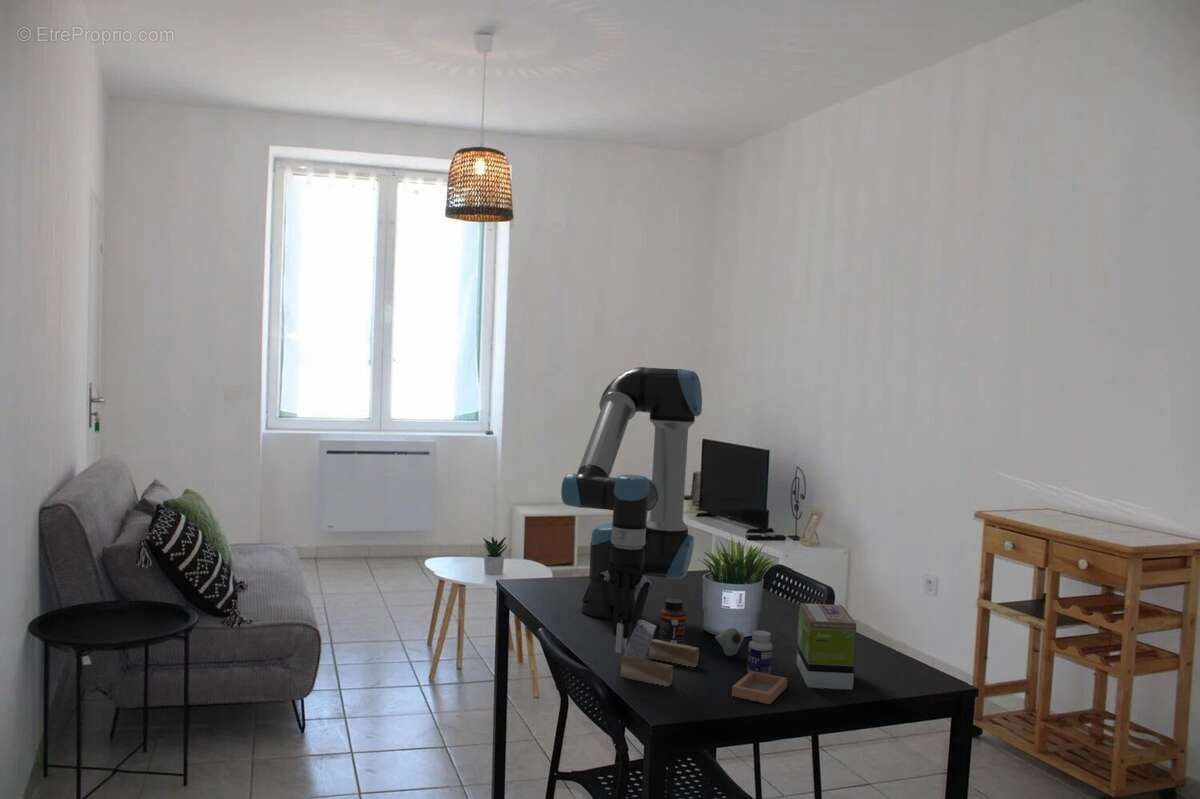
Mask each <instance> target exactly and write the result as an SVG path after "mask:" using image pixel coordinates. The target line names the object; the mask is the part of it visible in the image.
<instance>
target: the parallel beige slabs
mask: <svg viewBox="0 0 1200 799" xmlns="http://www.w3.org/2000/svg"><path fill="white" fill-rule="evenodd" d="M699 652H700V648H699V647H696V646H691V645H687V644H684V645H682V644H676V643H671V642H666V641H661V640H659V639H654V638H653V639H652V641H651V644H650V646H649V652H648V653H649V655H648V657H649V658H650V659H649V658H648V659H649V660H647V659H644V660H643V659H638V658H633V657H628V656H624V655H623V656H624V657H623V656H622V657H621V658H620V659H621V660H620V678H624V679H629V680H634V681H638V682H642V681H643V683H648V684H652V683H653V685H656V684H659V685H658V686H661V685H664V686H663V687H666V686H669V685H670V686H672V685H673V673H674V669H673V668H674V664H673V663H677V664H676V665H678V664H682V665H681V666H683V665H686V666H685V667H688V666H692V667H691V668H693V667H695V668H696V666H697V665H698V666H699V655H700V654H699ZM653 659H656V660H655V661H654V660H653ZM652 660H653V661H652ZM658 660H661V661H660V662H659V661H658ZM657 661H658V662H657ZM663 661H666V662H665V663H663ZM668 662H672V663H671V664H673V665H671V664H667V663H668ZM698 666H697V667H698ZM671 684H672V685H671ZM670 686H669V687H670Z"/></svg>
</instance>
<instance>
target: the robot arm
mask: <svg viewBox="0 0 1200 799" xmlns="http://www.w3.org/2000/svg"><path fill="white" fill-rule="evenodd" d="M598 405H599V409H600V412H599V414H598V417H597V418H596V421H595V424H594V428H593V430H592V433H591V436H590V438H589V440H588V443H587V447H586V448H585V451H584V454H583V457H582V459H581V462H580V465H579V466H578V470H577V473H567V474H566V475H565V476H564V477H563V479H562V483H561V491H560V493H561V494H560V495H561V500H562V503H563V504H564V505H565V506H570V507H575V508H579V509H580V508H581V509H582V508H583V509H594V510H596V509H597V510H607V511H612V522H610V523H609V522H608V523H604V524H600V525H597V526H595V527H594V528H593V529H592V531H591V540H590V542H589V546H590V551H589V553H590V554H589V572H588V573H589V574H588V575H589V576H588V577H589V579H588V583H587V586H586V589H585V591H584V593H583V596H582V599H581V601H580V602H581V603H580V611H581V613H583V614H585V615H588V616H591V617H595V618H601V619H610V620H612V621H613V628H612V630H613V631H612V634H613V637H615V638H616V639H615V650H614V653H617V654H622V653H625V651H626V649H627V645H628V644H627V642H628V639H629V638H631V636H632V624H634V623H636V622H637V623H638V621H639V620H640V619H641V618H642V615H643V614H642V613H643V611H644V608H645V605H646V601H647V598H648V596H649V592H650V590H651V589H652V587H654V584H655V582H654V580H652V579H650V580H649V579H648V577H652V578H661V579H665V580H669V579H671V580H681V579H683V578H684V577H685V576H686V574H687V573H688V570H689V567H690V564H691V561H692V556H693V552H694V546H695V545H694V544H695V543H694V542H695V537H694V535H692V534H691V533H690V534H689V527H688V525H687V524H686V523H685V522H684V506H685V505H684V504H685V488H686V471H687V454H688V439H689V438H688V437H689V436H688V435H689V429H690V428H691V426H693V425H694V424H695V419H696V417H699V416H700V415H701V414H702V409H703V408H702V407H703V406H702V405H703V394H702V386H701V381H700V377H699V375H698V373H696V372H695V371H693V370H690V369H682V368H661V367H660V368H659V367H645V366H639V367H638V366H637V367H634V368H630V369H628V370H626V371H623V373H621V374H619V375H618V376H617V377H615V378H613V380H612V381H611V382H610V383H609V384H608V385H607V387H606V389H604V391H603V393H602V395H601V397H600V400H599V404H598ZM638 412H639V413H640V412H642V413H649V421H650V422H651V423H652V425H653V426H654V436H653V437H654V439H653V442H654V443H653V454H652V455H653V456H652V457H653V458H652V470H651V471H652V473H651V479H650V478H648V477H646V476H643V475H639V474H621V475H617V476H616V477H610V476H611V473H612V471H613V470H612V469H613V468H614V464H615V461H616V458H617V455H618V452H619V450H620V447H621V444H622V442H623V441H622V440H623V439H624V436H625V433H626V429H627V427H628V425H629V424H628V423H629V421H630V420H632V419H633V418H634V417H635V415H636V413H638ZM648 512H649V519H648ZM639 583H640V587H641V588H639V589H640V590H639V592H638V595H637V594H636V590H637V586H638V585H639Z"/></svg>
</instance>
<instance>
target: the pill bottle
mask: <svg viewBox="0 0 1200 799" xmlns="http://www.w3.org/2000/svg"><path fill="white" fill-rule="evenodd" d="M771 638H772V637H771V632H769V631H767V630H754V631H752V634H751V639H752V640H750V641H749V643H748V649H747V650H748V651H747V664H746V671H747V673H749V672H750V671H754V672H760V673H765V674H770V675H772V667H773V666H772V665H773V664H772V663H773V651H774V649H773V647H774V646H773V644H772V643H771V642H770V641H771Z"/></svg>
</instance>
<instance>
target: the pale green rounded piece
mask: <svg viewBox="0 0 1200 799" xmlns="http://www.w3.org/2000/svg"><path fill="white" fill-rule="evenodd" d="M745 638H746V637H745V633H743V632H741V631H739V629H737V628H733V627H732V628H728V629H726V630H724V631H723V632H721V633H720V634H717V635H716V636H714V639H715V640H716V641H717V642H718V643H719V645H720V646H721V647H722V650H723V652H724V654H725V655H726V656H727V657H733V656H734V655H736V654H737V652H738V651H739V649H740V647H741V644H742V642H743V641H744V639H745Z"/></svg>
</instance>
